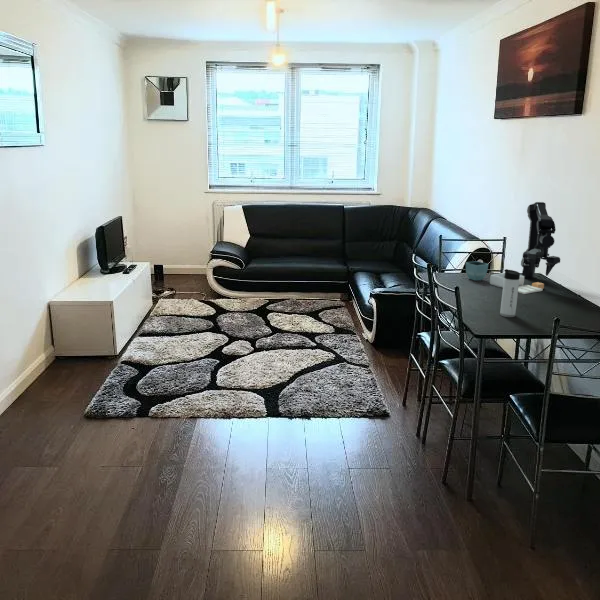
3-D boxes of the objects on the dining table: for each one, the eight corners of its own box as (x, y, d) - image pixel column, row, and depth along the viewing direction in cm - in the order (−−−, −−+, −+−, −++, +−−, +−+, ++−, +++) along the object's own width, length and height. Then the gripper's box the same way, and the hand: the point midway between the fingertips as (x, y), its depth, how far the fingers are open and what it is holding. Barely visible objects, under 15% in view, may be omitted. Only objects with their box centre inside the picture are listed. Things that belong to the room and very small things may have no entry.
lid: (532, 285, 320) (533, 280, 320) (548, 289, 312) (548, 285, 312) (508, 289, 311) (509, 285, 311) (524, 294, 304) (524, 289, 303)
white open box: (508, 281, 328) (509, 272, 327) (523, 285, 320) (524, 276, 319) (489, 284, 321) (490, 274, 320) (504, 288, 313) (505, 279, 312)
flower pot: (463, 278, 333) (465, 262, 330) (476, 277, 336) (477, 261, 334) (474, 282, 325) (476, 265, 323) (487, 280, 329) (489, 264, 326)
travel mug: (502, 312, 272) (507, 268, 267) (517, 315, 268) (522, 270, 263) (496, 315, 268) (501, 270, 262) (511, 318, 263) (517, 273, 258)
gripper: (517, 241, 312) (513, 271, 316) (548, 247, 297) (544, 279, 301) (531, 240, 318) (528, 269, 322) (562, 246, 302) (558, 276, 307)
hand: (539, 273), depth 313 cm, fingers open, 9 cm apart
